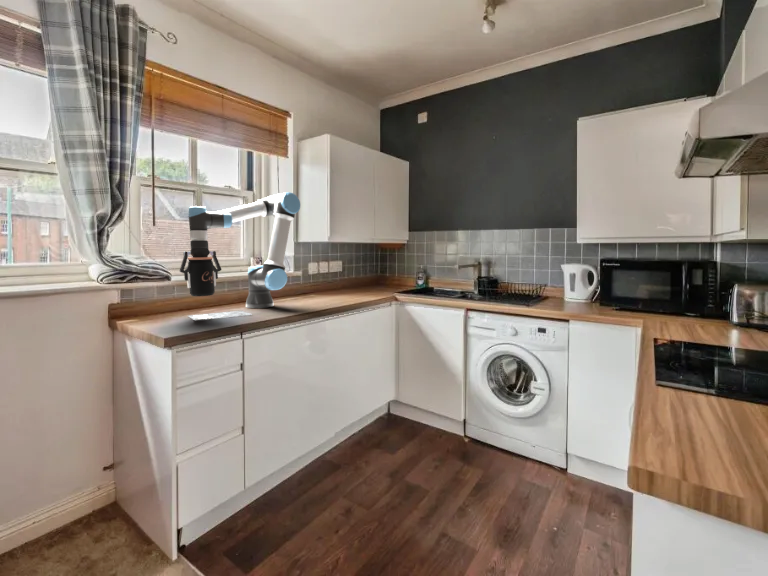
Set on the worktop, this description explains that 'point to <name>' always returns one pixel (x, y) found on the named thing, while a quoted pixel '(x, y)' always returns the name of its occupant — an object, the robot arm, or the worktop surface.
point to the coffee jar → (201, 276)
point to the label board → (218, 315)
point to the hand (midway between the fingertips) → (202, 286)
